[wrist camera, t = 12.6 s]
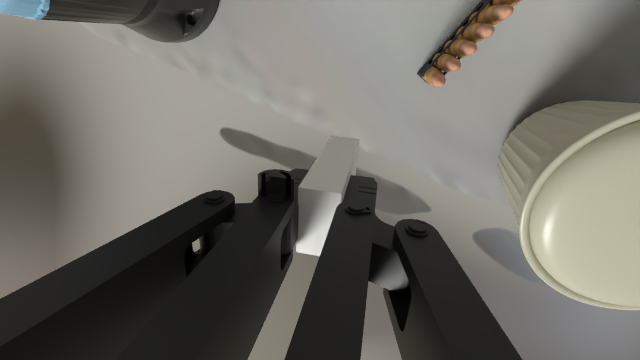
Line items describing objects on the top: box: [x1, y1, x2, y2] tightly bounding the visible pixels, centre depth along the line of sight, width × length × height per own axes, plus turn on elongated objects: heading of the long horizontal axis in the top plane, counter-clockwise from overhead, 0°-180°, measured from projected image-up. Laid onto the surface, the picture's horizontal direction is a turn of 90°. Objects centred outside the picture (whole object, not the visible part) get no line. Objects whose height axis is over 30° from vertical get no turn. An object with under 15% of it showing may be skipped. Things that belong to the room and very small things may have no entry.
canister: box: [498, 100, 640, 310], centre depth 29 cm, size 18×18×21 cm
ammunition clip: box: [417, 0, 522, 87], centre depth 30 cm, size 11×2×12 cm, turn 142°
